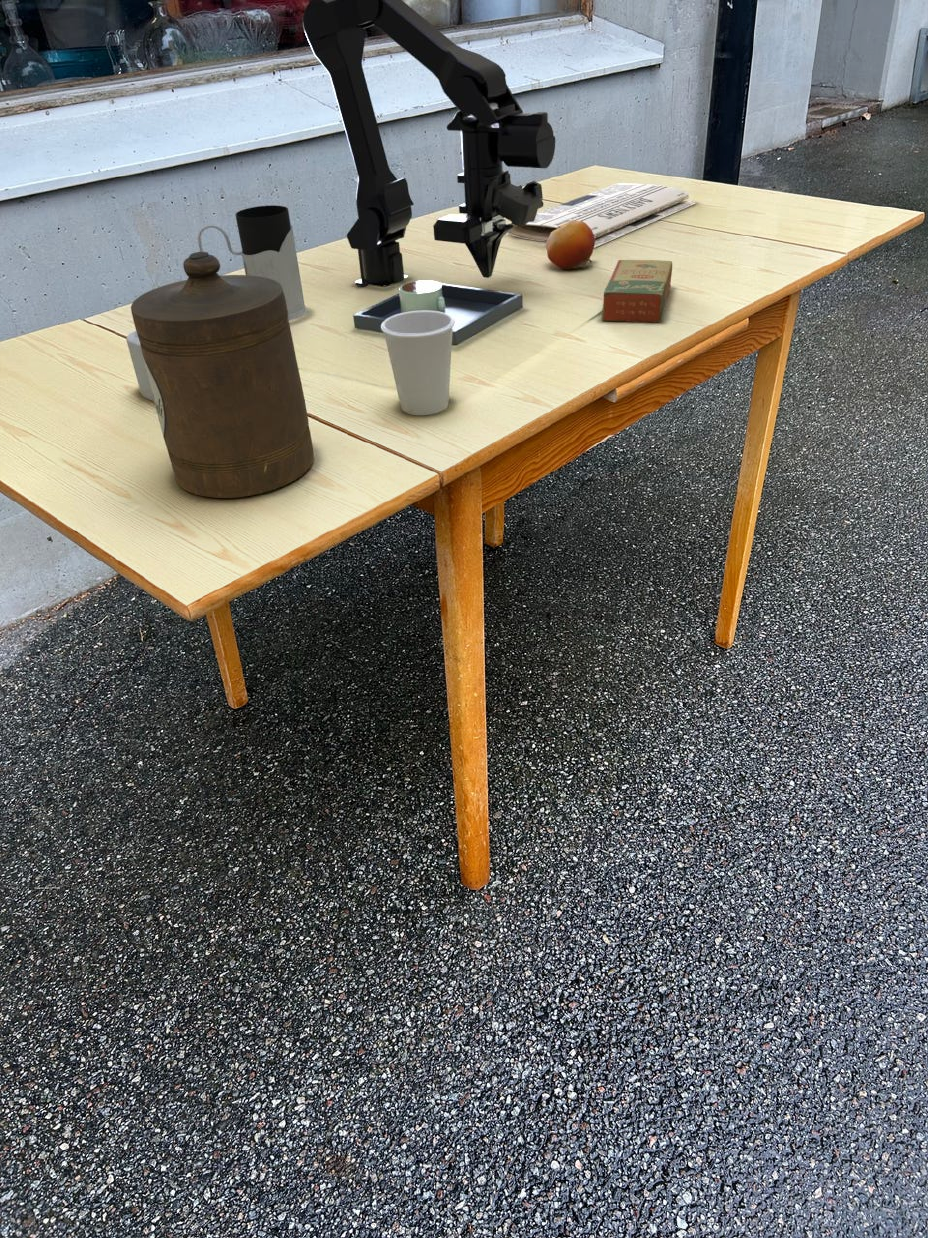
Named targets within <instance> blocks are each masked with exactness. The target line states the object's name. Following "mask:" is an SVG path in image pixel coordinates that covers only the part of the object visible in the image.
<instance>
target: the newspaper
mask: <svg viewBox="0 0 928 1238" xmlns="http://www.w3.org/2000/svg"><path fill="white" fill-rule="evenodd" d="M689 196H690V193H688V192H686V191H685V190H684V189H682V188H678V187H671V186H666V185H659V184H654V183H635V182H634V183H633V182H632V183H631V182H618V183H615V184H612V185H610V186H607V187H604V188H601V189H598V190H596V191H593V192H590V193H588V194H585V195H582V196H580V197H577V198H575V199H572V200H569V201H567V202H563V203H560V204H558V205H556V206H553V207H550V208H547V209H545V210H544V209H543V210H542V211H539V212H537V214H536V217H535V220H534V221H533V222H529V223H527V224H526V225H525V226H522V227H521V226H516V225H514V224H512V222H510V223H508V224H509V225H513V228H512V229H511V230H509V231H508V232H507V233H506V234H507V235H511V236H512V237H513V236H514V237H516V238H519V239H525V240H531V241H539V242H546V243H547V240H548V238H549V236H550V234H551V232H552V231H554V230H556V229H557V228H558V227H560V226H562V225H563V224H566V223H567V222H569V221H583V222H584V223H586V224H587V225H588V226H589V227H590V229H591V230H592V232H593V234H594V239H595V245H594V249H595V248H597V247H599V246H602V245H605V244H606V243H608V242H612V241H614V240H615V239H618V238H620V237H622V236H625V235H627V234H629V233H632V232H634V231H637V230H639V229H641V228H643V227H645V226H648V225H650V224H652V223H655V222H657V221H659V220H661V219H663V218H666V217H669V216H670V215H673V214H675V213H677V212H680V211H682V210H684V209H687V208H689V207H691V206H694V205H696V204H697V203H696V202H695V201H689V200H688V199H689Z"/></svg>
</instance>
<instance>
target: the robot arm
mask: <svg viewBox="0 0 928 1238" xmlns="http://www.w3.org/2000/svg"><path fill="white" fill-rule="evenodd" d="M302 26H303V31H304V33H305V36H306V38H307V41H308V43H309V45H310V48H311V50H312V52H313V55H314V56H315V57H316V59H317V60H318V61H319V62H320V64H321V65H322V66H323V68H324V69H325V70H326V71H327V73H328V75H329V77H330V82H331V84H332V88H333V92H334V96H335V98H336V102H337V105H338V109H339V113H340V117H341V119H342V123H343V127H344V130H345V134H346V137H347V141H348V145H349V149H350V152H351V155H352V159H353V163H354V166H355V170H356V173H357V179H358V180H357V186H356V195H355V204H356V211H357V212H356V213H357V219H356V220H355V222H354V223H353V224H352V227H351V228H350V229H349V230H348V232H347V233H346V239H347V241H348V244H349V246H350V249H352V250H357V255H358V256H357V257H358V261H359V262H358V263H359V271H360V279H358V280H355V282H354V283H355V285H356V286H361V287H368V286H376V287H383V288H386V287H389V286H391V285H393V284H397V283H398V282H401V281H403V280H404V279H406V278H409V275H408V274H405V273H404V261H403V260H404V259H403V254H402V252H401V248H400V242H399V241H398V240H400V239H403V238H405V235H406V230H407V227H408V226H409V223H410V221H411V220H412V217H413V212H412V211H413V210H412V206H414V204H415V203H414V202H413V200H412V198H411V195H410V192H409V184H408V181H407V178H405V177H401V178H399V179H398V178H397V177H396V175H395V174H394V173H393V171H391V169H390V167H389V163H388V159H387V155H386V152H385V151H386V150H385V148H384V144H383V140H382V136H381V133H380V129H379V124H378V121H377V117H376V113H375V110H374V106H373V103H372V98H371V94H370V91H369V87H368V83H367V80H366V76H365V73H364V68H363V57H364V49H365V43H366V39H365V32H364V29H367V28H369V27H372V26H376V27H377V28H378V29H379V30H380V31H381V32H383V33H384V34H385V35H386V36H387V37H389V38H390V39H391V40H392V41H393V42H394V43H396V44H397V45H398V46H399V47H401V48H402V49H403V50H405V52H407V53H408V54H409V55H410V56H411V57H412V58H414V59H415V60H416V61H418V62H419V63H420V64H421V65H422V66H424V67H425V69H427V70H428V71H430V72H431V73H432V74H433V76H434V77H435V79H437V81H438V83H439V84H440V87H441V89H442V92H443V94H445V96H446V97H447V98H448V99H449V101H450V102H451V103H452V104H453V105H454V106H455V107H456V109H457V110H458V111H456V113H455V115H454V117H453V118H452V119H451V120H450V122H448V124H447V125H446V130H447V131H448V132H449V131H450V132H452V131H453V132H460V143H461V162H462V173H459V174H457V176H456V179H457V184H463V194H464V195H463V199H464V203H462V204H459V205H458V212H459V214H456V213H455V214H454V213H449V214H448V215H446V216H443V217H441V218H438V219H436V222H435V223H434V224H433V239H434V241H437V242H448V243H455V244H464V245H465V246H466V248H467V250H468V251H469V253H470V255H471V257H472V258H473V261H474V263H475V264H476V266H477V268H478V270H479V272H480V274H481V276H482V277H483V278H485V279H489V278H491V277H492V276H493V272H494V267H495V264H496V260H497V257H498V252H499V248H500V245H501V242H502V239H503V238H504V237H505V236H506V235H507V234H508V233H507V232H508V231H509V230H511V229H512V228H513V225H509V223H507V222H506V220H508V221H509V222H510V223H512V224H514V225H516V226H521V227H522V226H525V225H526V224H527V223H529V222H533V221H534V220H535V217H536V214H537V213H538V210H539V209H542V208H543V207H544V205H545V203H544V201H543V199H544V197H543V196H544V195H543V186H542V184H541V183H539V182H537V181H535V180H532V181H530V182H528V183H526V184H525V185H524V186H523V185H521V184H520V185H515V184H513V183H512V181H511V179H512V178H511V174H510V172H509V170H504V169H503V168H504V165H505V166H507V167H508V168H509V167H510V168H527V169H528V168H529V169H548V168H549V167H550V165H551V164H552V162H553V159H554V156H555V150H556V136H554V134H555V133H554V130H553V127H552V125H551V124H550V123H549V122H548V121H549V118H548V115H549V114H548V112H547V111H537V112H533V113H528V112H527V113H525V112H523V109H522V108H521V106H520V104H519V103H518V101H517V99H516V97H515V96H514V94H513V93H512V91H511V89H510V88H509V86H508V84H507V79H506V77H507V75H506V73H505V71H504V69H503V68H502V67H501V66H500V65H499V64H497V62H494V61H493V60H491V59H490V58H487V57H485V56H483V55H482V54H480V53H477V52H474V51H471V50H470V49H469V50H468V49H465V48H463V47H461V46H459V45H457V44H456V43H454V42H453V41H452V39H450V38H448V37H447V36H446V35H445V34H443V32H441V31H440V30H438V28H437V27H435V26H434V25H433V24H431V23H430V22H429V21H428V20H427V19H425V17H423V16H422V15H421V14H419V12H417V11H416V10H414V9H413V7H411V6H409V4H408V3H406V2H405V1H404V0H310V1H309V2H308V4H307V5H306V7H305V10H304V13H303V14H302ZM503 163H504V165H503Z"/></svg>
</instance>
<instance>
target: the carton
mask: <svg viewBox="0 0 928 1238" xmlns="http://www.w3.org/2000/svg"><path fill="white" fill-rule="evenodd" d="M672 274H673V261H672V260H661V259H660V260H657V259H618V261H617V263H616V265H615V268H614V270H613V271H612V274H611V276H610V279H609V280H608V282H607V285H606V287H605V289H604V291H603V302H602V313H601V320H602V321H605V322H607V321H608V322H610V321H612V322H628V323H629V322H630V323H632V322H633V323H661V322H662V321H663V318H664V313H665V310H666V305H667V301H668V297H669V294H670V289H671V288H672V284H671V283H672Z"/></svg>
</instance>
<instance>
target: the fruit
mask: <svg viewBox="0 0 928 1238" xmlns="http://www.w3.org/2000/svg"><path fill="white" fill-rule="evenodd" d="M594 245H595V239H594V234H593V232H592V230H591V229H590V227H589V226H588V225H587V224H586V223H584V222H583V221H569V222H567V223H566V224H563V225H562V226H560V227H558V228H557V229H556V230H554V231H552V232H551V234H550V236H549V238H548V240H547V242H546V243H545V250H546V254H547V259H548V260H549V261H550V262H551V263H552V264H553V265H554V266H555V267H557V268H559V269H562V270H566V271H567V270H573V269H577V268H586V269H587V264H588V262H590V263H593V261H592V260H591V256H593V253H594V249H595V248H594Z"/></svg>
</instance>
